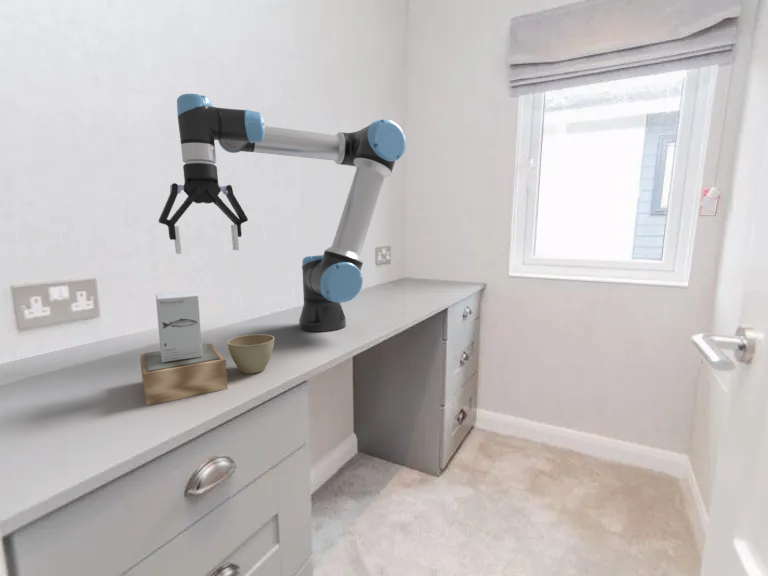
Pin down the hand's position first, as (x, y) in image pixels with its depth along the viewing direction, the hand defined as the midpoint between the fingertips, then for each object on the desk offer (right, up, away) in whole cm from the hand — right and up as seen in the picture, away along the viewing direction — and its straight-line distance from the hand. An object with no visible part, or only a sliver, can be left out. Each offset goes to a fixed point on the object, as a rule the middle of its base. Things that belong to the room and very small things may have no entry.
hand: (208, 251), depth 101 cm
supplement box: (+3, -23, -20) cm, 30 cm away
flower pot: (+14, -28, -10) cm, 33 cm away
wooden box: (+3, -29, -19) cm, 35 cm away
